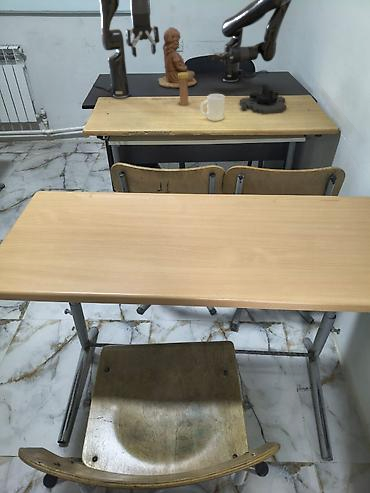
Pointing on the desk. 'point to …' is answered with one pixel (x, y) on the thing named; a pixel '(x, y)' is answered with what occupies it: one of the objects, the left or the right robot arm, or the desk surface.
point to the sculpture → (173, 61)
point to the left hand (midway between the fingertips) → (144, 55)
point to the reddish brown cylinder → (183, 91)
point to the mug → (214, 107)
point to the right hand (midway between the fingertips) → (210, 58)
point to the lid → (183, 75)
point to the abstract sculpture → (264, 101)
